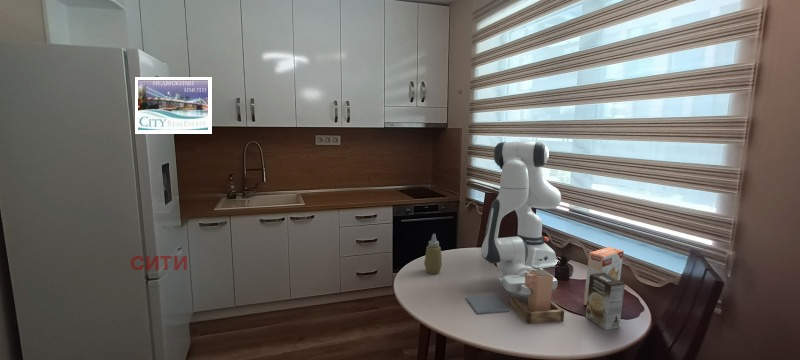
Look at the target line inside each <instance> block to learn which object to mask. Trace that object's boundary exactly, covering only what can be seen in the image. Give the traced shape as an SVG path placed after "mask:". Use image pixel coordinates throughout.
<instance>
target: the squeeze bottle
mask: <svg viewBox="0 0 800 360" xmlns="http://www.w3.org/2000/svg"><path fill="white" fill-rule="evenodd" d="M424 267H425V271H426V273H427V274H430V275H437V274H439V273H440V271H441V269H442V267H443V259H442V248H441V246H440V242H439V240H437V236H436V233H432V235H431V240H429V241H428V245H427V246H426V249H425V256H424Z"/></svg>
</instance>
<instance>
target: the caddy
mask: <svg viewBox="0 0 800 360" xmlns="http://www.w3.org/2000/svg"><path fill="white" fill-rule="evenodd" d="M508 305H509V306H510V307H511V308H513V310H514V311H515V312H516V313H517V314H518V315H519V316H520V317H521V318H522V319H523V321H525V322H526V323H527V324H535V323H537V324H539V323H549V322H563V321H564V319H565V310H564V309H562V308H561V307H560V306H559V305H558V304H556V303H555V302H554V301H553V300H551V308H550V310H547V311H534V312H531V311H530V310H529V309H528V308H527V307H528V301H523V302H522V301H521V302H520V301H519V300H518V299H517V298H516V297H515V296H511V297H510V302H509V303H508Z"/></svg>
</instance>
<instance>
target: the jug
mask: <svg viewBox="0 0 800 360" xmlns="http://www.w3.org/2000/svg"><path fill="white" fill-rule="evenodd" d="M553 277H554V275H553V274H551V273H550V272H548V271H547V270H546V269H543V270H530V274H525V286H527V287H528V286H529V288H531V289H533V294H532V295H529V294H528V293H527V294H528V295H527V296H528V297H527V302H528V307H527V308H528V309H529V310H530V311H531V312H534V311H547V310H550V308H551V301H552V295H553V289H552V283H553Z"/></svg>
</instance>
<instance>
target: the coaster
mask: <svg viewBox="0 0 800 360" xmlns="http://www.w3.org/2000/svg"><path fill="white" fill-rule="evenodd" d="M465 299H466V301H467V303H468V304H469V306H471V308H472V309H473V311H474V312H475V313H476V314H477V315H485V314H486V315H487V314H499V313H509V312H510V310H509V309H508V308H507V307H506V305H505V303H503V302H502V301H501V300H500V299H499V298H498V297H497V295H495V294H493V295H479V296H477V295H476V296H465Z"/></svg>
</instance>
